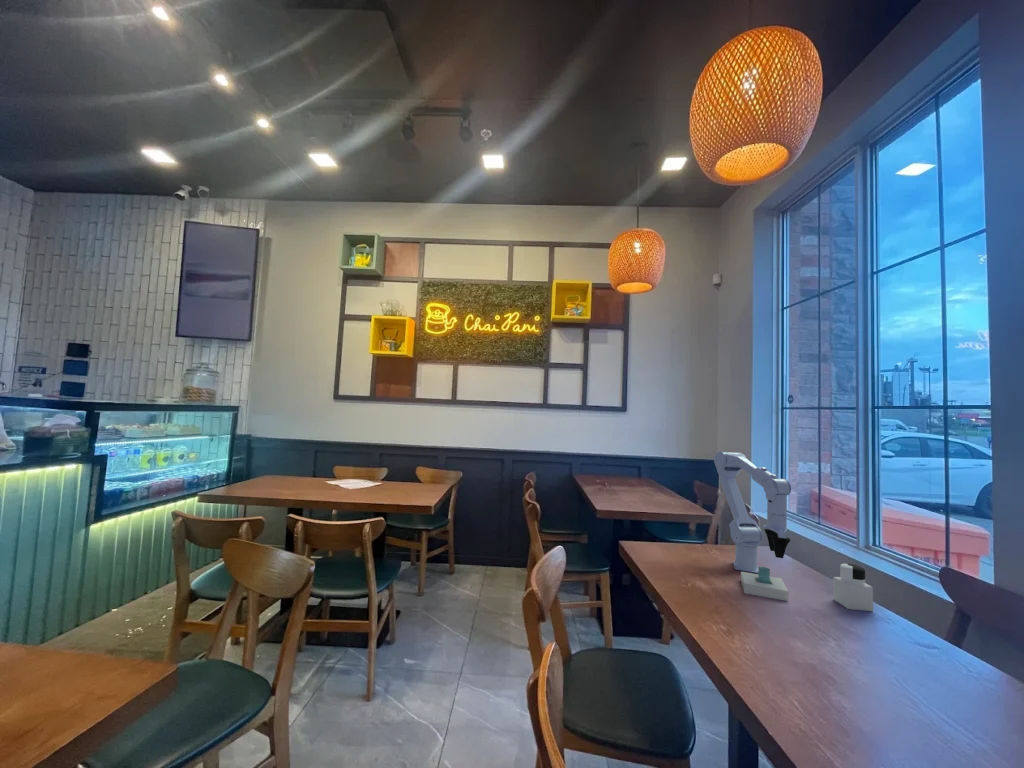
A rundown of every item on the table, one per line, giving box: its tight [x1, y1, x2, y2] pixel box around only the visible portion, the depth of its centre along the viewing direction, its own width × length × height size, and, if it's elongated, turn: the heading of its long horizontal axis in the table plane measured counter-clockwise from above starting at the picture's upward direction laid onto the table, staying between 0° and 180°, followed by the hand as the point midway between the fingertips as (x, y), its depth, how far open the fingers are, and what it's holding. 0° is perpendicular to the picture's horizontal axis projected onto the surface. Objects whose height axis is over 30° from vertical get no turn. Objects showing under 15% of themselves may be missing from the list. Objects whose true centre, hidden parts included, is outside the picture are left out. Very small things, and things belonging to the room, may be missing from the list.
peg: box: [757, 566, 771, 584], centre depth 141 cm, size 3×3×7 cm
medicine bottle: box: [832, 562, 874, 612], centre depth 133 cm, size 7×7×12 cm
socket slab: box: [740, 571, 789, 602], centre depth 141 cm, size 12×12×3 cm
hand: (776, 554), depth 148 cm, fingers open, 7 cm apart
